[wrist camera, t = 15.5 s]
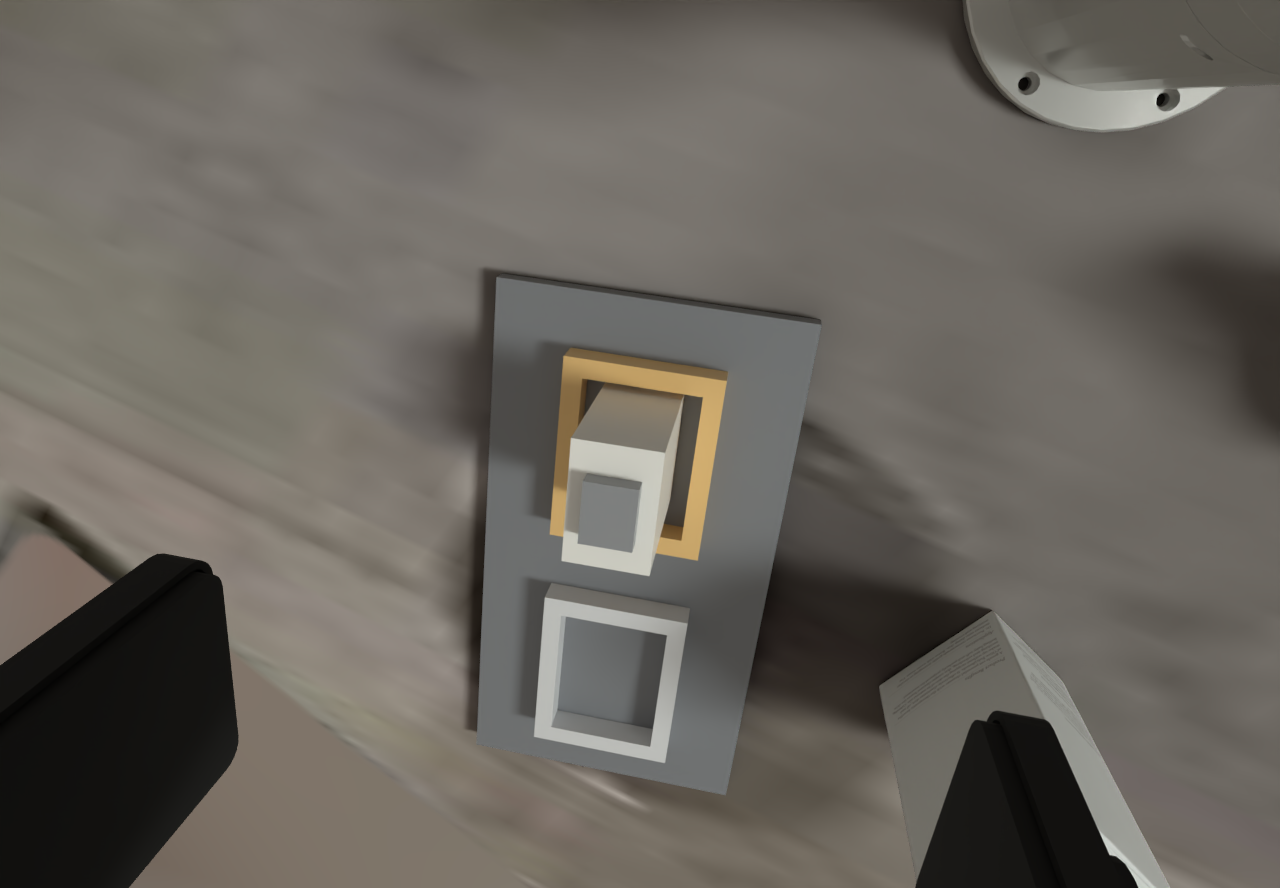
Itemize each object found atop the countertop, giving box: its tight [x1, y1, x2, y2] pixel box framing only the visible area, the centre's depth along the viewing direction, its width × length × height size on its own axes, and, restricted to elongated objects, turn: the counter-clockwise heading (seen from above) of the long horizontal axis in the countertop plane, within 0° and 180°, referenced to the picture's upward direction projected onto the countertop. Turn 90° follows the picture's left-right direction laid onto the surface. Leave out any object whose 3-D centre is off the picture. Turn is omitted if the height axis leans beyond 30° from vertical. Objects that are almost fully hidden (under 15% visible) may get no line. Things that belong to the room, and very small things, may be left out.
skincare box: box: [879, 611, 1170, 888], centre depth 39 cm, size 8×7×16 cm
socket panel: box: [477, 273, 822, 795], centre depth 46 cm, size 16×30×2 cm, turn 173°
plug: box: [561, 382, 684, 576], centre depth 39 cm, size 4×6×9 cm, turn 174°
